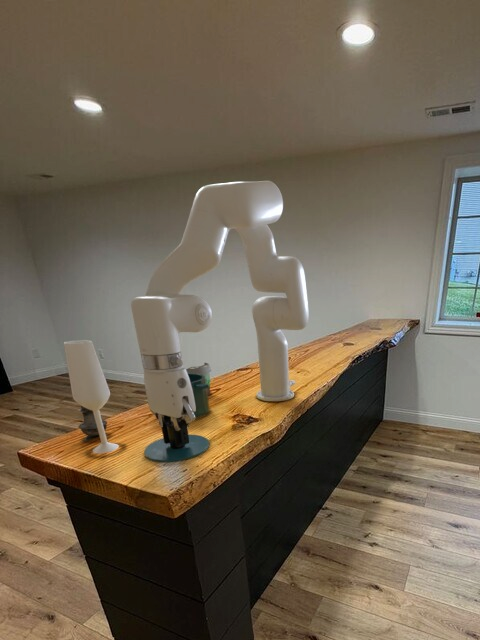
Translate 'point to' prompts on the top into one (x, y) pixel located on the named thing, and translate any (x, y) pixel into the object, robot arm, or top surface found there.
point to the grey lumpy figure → (90, 424)
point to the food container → (202, 373)
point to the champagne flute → (88, 384)
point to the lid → (176, 448)
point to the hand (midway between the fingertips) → (176, 442)
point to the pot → (199, 394)
